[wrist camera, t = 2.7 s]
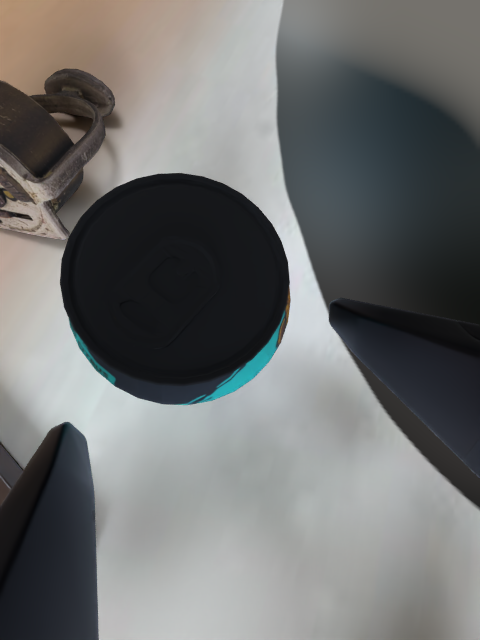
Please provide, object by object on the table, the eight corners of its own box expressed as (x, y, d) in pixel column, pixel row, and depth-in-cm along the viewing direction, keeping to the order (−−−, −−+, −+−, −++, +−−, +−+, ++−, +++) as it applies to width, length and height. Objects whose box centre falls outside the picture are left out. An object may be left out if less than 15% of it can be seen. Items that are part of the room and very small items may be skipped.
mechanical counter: (-204, 103, 12) (-87, 204, 10) (-4, -58, 14) (130, -1, 12) (-35, 205, 19) (55, 278, 17) (84, 89, 21) (178, 141, 19)
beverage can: (262, 328, 19) (359, 263, 8) (198, 408, 18) (197, 481, 6) (187, 266, 19) (169, 106, 8) (117, 340, 18) (-44, 280, 6)
